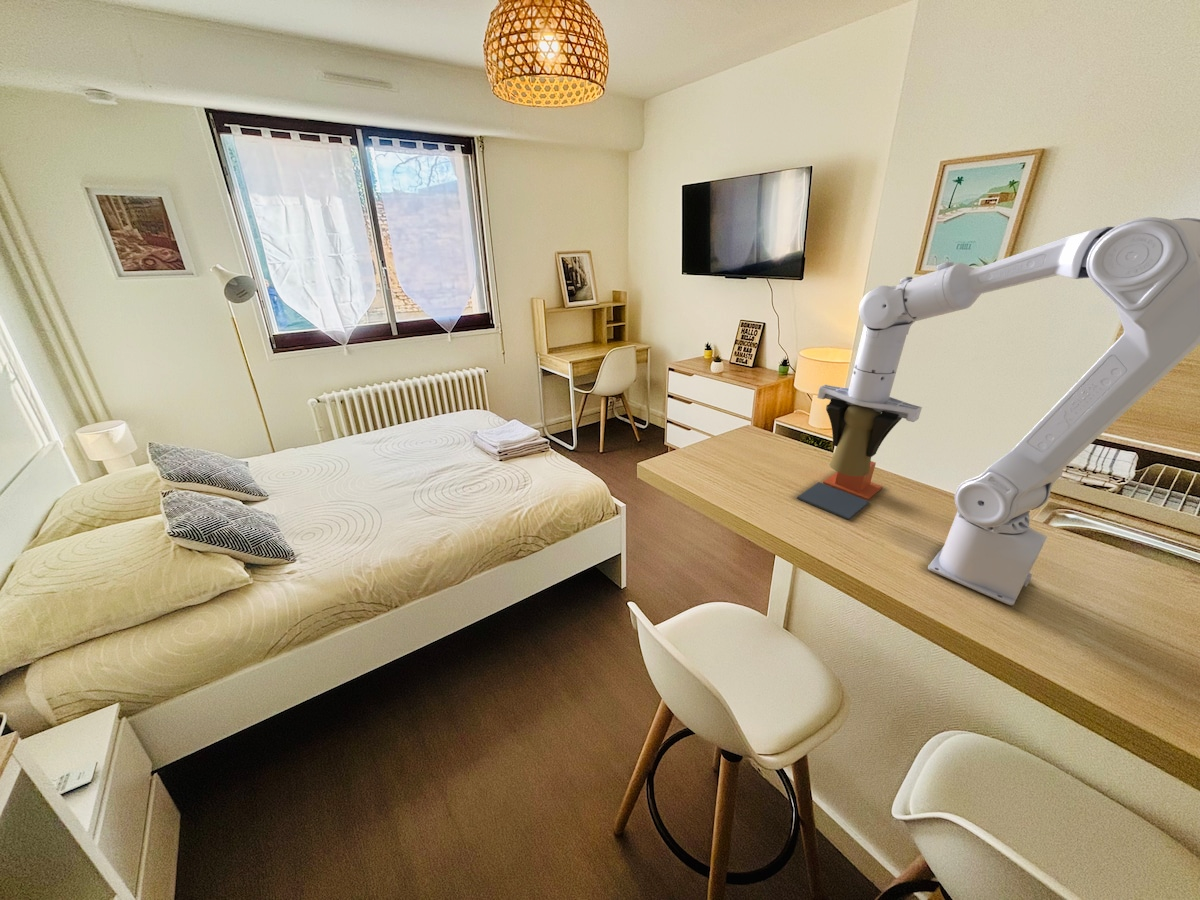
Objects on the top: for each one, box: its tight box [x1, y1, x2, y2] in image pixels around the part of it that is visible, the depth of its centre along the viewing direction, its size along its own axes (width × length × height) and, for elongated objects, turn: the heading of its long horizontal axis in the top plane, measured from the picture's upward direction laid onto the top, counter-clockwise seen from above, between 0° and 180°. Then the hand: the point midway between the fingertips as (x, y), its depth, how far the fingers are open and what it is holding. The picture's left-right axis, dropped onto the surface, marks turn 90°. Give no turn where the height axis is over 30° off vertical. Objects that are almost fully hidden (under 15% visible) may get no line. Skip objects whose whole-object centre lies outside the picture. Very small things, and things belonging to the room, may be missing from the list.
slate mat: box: [796, 481, 870, 521], centre depth 81 cm, size 9×8×1 cm
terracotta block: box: [835, 460, 877, 492], centre depth 85 cm, size 4×4×4 cm
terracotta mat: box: [822, 472, 883, 501], centre depth 86 cm, size 8×6×1 cm
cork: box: [829, 405, 881, 476], centre depth 76 cm, size 6×6×11 cm
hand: (854, 449), depth 77 cm, fingers closed on cork, 5 cm apart
